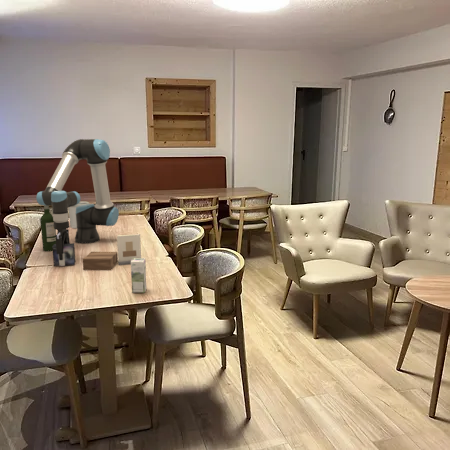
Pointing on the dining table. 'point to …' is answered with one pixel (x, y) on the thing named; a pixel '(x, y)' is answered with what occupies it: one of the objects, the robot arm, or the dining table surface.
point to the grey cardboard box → (128, 248)
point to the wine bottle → (47, 230)
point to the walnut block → (100, 261)
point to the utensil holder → (74, 214)
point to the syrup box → (138, 275)
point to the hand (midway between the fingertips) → (64, 263)
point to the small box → (65, 254)
